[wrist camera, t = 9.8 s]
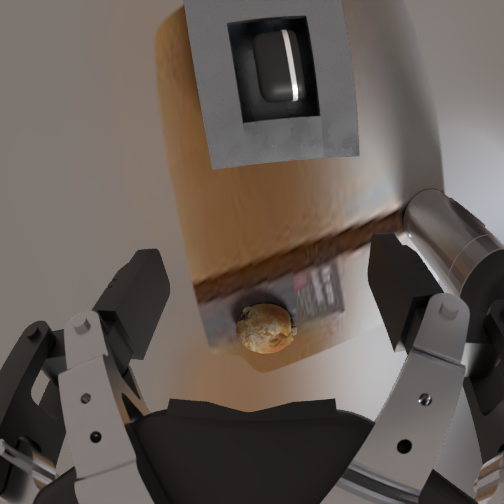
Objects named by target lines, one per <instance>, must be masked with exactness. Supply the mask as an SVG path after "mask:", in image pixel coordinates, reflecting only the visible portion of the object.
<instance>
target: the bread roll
mask: <svg viewBox="0 0 504 504" xmlns="http://www.w3.org/2000/svg"><path fill="white" fill-rule="evenodd" d="M243 312H244V313H243V314H242V315H241V317H240V319H239V321H238V323H237V327H236V333H237V336H238V338H239V340H240V341H241V343H242V344H243V345H244V346H245V347H247V348H249V349H250V350H251V351H256V352H258V353H273V352H277V351H280V350H282V349H283V348H284V347H286V346H287V345H289V344H290V343H291V342H292V340H293V339H294V337H293V335H295V334H296V333H297V326H292V324H293V319H291V318H290V314H289V313H288V312H287V311H286V310H284V309H283V308H281V307H280V306H278V305H273V304H257V305H254V306H252V307H249V306H248V307H246V308H244V310H243Z"/></svg>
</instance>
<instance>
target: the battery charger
mask: <svg viewBox="0 0 504 504" xmlns="http://www.w3.org/2000/svg"><path fill="white" fill-rule="evenodd" d="M252 48H253V56H254V61H255V67H256V72H257V78H258V84H259V90H260V93H261V96H262V97H263V99H264V100H266V101H268V102H282V101H297V100H301V99H303V98H304V96H305V84H304V77H303V70H302V64H301V58H300V53H299V47H298V42H297V38H296V35H295V33H294V32H293V31H292V30H281V31H275V32H266V33H261V34H258V35H257V36H256V37H255V38H254V39H253V43H252Z"/></svg>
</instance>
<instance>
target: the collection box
mask: <svg viewBox="0 0 504 504" xmlns="http://www.w3.org/2000/svg"><path fill="white" fill-rule="evenodd" d="M184 7H185V14H186V20H187V27H188V33H189V40H190V46H191V52H192V58H193V64H194V70H195V76H196V82H197V88H198V94H199V100H200V105H201V111H202V116H203V122H204V127H205V133H206V138H207V144H208V149H209V154H210V159H211V165H212V170H215V169H222V168H229V167H236V166H244V165H252V164H260V163H269V162H279V161H289V160H301V159H314V158H330V157H350V156H359V134H358V118H357V104H356V93H355V84H354V75H353V67H352V59H351V52H350V45H349V39H348V33H347V28H346V22H345V17H344V12H343V7H342V3H341V0H184ZM281 30H292V31H293V32H294V33H295V35H296V38H297V42H298V47H299V53H300V58H301V64H302V70H303V77H304V84H305V96H304V98H303V99H301V100H297V101H282V102H268V101H266V100H264V99H263V97H262V96H261V93H260V90H259V84H258V78H257V72H256V67H255V61H254V56H253V48H252V43H253V39H254V38H255V37H256V36H257V35H258V34H261V33H266V32H275V31H281Z"/></svg>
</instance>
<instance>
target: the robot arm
mask: <svg viewBox="0 0 504 504" xmlns="http://www.w3.org/2000/svg"><path fill="white" fill-rule="evenodd" d="M403 226H404V230H405V232H406V234H407V236H408V237H409V238H410V239H411V241H412V242H413V243H414V245H415V246H416V247H417V249H418V250H419V251H420V253H421V254H422V255H423V257H424V258H425V259H426V261H427V262H428V263H429V265H430V266H431V267H432V269H433V270H434V271H435V273H436V274H437V276H438V277H439V278H440V280H441V281H442V283H443V284H444V286H445V287H446V289H447V290H448V291H449V293H450V294H448V293H444V292H443V290H442V288H441V287H440V285H439V284H438V282H437V281H436V279H435V278H434V276H433V275H432V273H431V272H430V270H428V268H427V266H426V265H425V263H423V260H422V259H421V258H420V256H419V255H418V254H417V252H415V251H414V250H413V249H411V248H410V247H408V246H407V245H402V244H401V243H400V241H399V240H398V238H397V237H396V236H395V234H394V233H378V234H373V236H372V240H371V248H370V257H369V265H368V282H369V286H370V288H371V291H372V293H373V296H374V298H375V301H376V303H377V306H378V308H379V311H380V314H381V316H382V319H383V322H384V324H385V327H386V329H387V332H388V335H389V338H390V341H391V344H392V347H393V350H394V352H398V351H404V350H406V352H407V355H408V356H407V358H406V360H405V363H404V365H403V367H402V369H401V372H400V374H399V376H398V378H397V380H396V382H395V384H394V386H393V388H392V390H391V392H390V394H389V396H388V398H387V400H386V402H385V404H384V405H383V408H382V409H381V411H380V413H379V414H378V416H377V418H376V420H375V421H374V422H373V421H371V420H370V419H368V418H366V417H364V416H362V415H359V414H356V413H353V412H349V411H344V410H337V409H336V402H335V399H327V400H315V401H301V402H292V403H288V404H284V405H280V406H276V407H272V408H268V409H264V410H259V411H255V412H243V411H239V410H235V409H231V408H227V407H224V406H220V405H217V404H213V403H210V402H204V401H190V400H179V399H170V401H169V405H168V409H165V410H161V411H156V412H153V413H151V412H150V410H149V409H148V407H147V405H146V403H145V401H144V398H143V396H142V394H141V391H140V389H139V387H138V384H137V382H136V379H135V376H134V374H133V372H132V369H131V367H130V366H129V362H130V360H131V359H138V360H143V359H144V356H145V354H146V351H147V349H148V346H149V344H150V341H151V339H152V336H153V333H154V331H155V329H156V326H157V324H158V321H159V319H160V316H161V314H162V312H163V309H164V307H165V305H166V302H167V300H168V298H169V295H170V283H169V279H168V276H167V274H166V270H165V268H164V265H163V261H162V258H161V255H160V253H159V251H158V250H157V249H144V250H138V251H137V252H136V253H135V255H134V256H133V257H132V259H131V260H130V262H129V263H127V264H126V265H125V266H124V267H122V268H121V269H120V270H119V271H118V272H117V273H116V275H115V276H114V278H113V280H112V281H111V282H110V283H109V285H108V288H106V289H105V291H104V292H103V294H102V295H101V297H100V298H99V300H98V301H97V303H96V304H95V306H94V307H93V309H92V310H91V311H83V312H80V313H78V314H76V315H75V316H73V317H72V318H71V319H70V320H69V321H68V323H67V324H66V326H65V329H62V330H57V331H52V330H51V329H50V327H49V326H48V325H47V323H46V322H45V321H37V322H34V323H32V324H31V325H29V326H28V327H27V328H26V329H25V330H24V332H23V333H22V335H21V337H20V338H19V340H18V341H17V343H16V344H15V346H14V348H13V349H12V351H11V353H10V355H9V356H8V358H7V360H6V361H5V363H4V365H3V367H2V369H1V370H0V499H2V500H4V501H6V502H8V503H9V504H504V244H503V243H502V242H501V241H500V240H498V239H497V238H496V237H495V236H494V235H493V234H492V233H491V232H490V231H489V230H487V229H486V228H485V225H484V224H483V223H482V222H481V221H480V220H479V219H478V218H476V217H475V216H474V215H473V214H472V213H470V212H469V211H468V210H467V209H465V208H464V207H463V206H462V205H460V204H459V203H458V202H456V201H455V200H453V199H452V198H449V197H447V196H446V195H445V194H443V193H442V192H440V191H439V190H435V189H428V190H424V191H422V192H420V193H418V194H417V195H416V196H415V197H413V199H412V200H411V201H410V202H409V204H408V206H407V208H406V210H405V213H404V218H403ZM40 370H42V371H43V372H44V374H45V375H46V376H47V377H48V378H49V379H50V381H49V383H48V385H47V387H46V390H45V392H44V394H43V397H42V399H41V401H40V404H39V406H38V405H37V404H36V403H35V402H34V401H33V399H32V397H31V388H32V386H33V384H34V382H35V379H36V377H37V376H38V374H39V372H40ZM462 385H463V388H464V391H465V393H466V397H467V400H468V404H469V407H470V410H471V414H472V418H473V421H474V425H475V429H476V433H477V438H478V442H479V446H480V451H481V457H482V462H483V467H482V468H481V470H480V472H479V476H478V479H477V480H476V481H475V483H474V491H475V493H476V495H475V498H474V499H473V498H471V497H470V496H468V495H467V494H466V493H464V492H463V491H462V490H460V489H459V488H458V487H456V486H455V485H453V484H452V483H451V482H449V481H448V480H447V479H445V478H444V477H443V476H442V475H440V474H439V473H438V472H436V471H435V470H434V469H432V468H433V466H434V464H435V462H436V460H437V457H438V455H439V453H440V450H441V448H442V445H443V443H444V440H445V438H446V435H447V432H448V430H449V427H450V424H451V421H452V418H453V415H454V412H455V409H456V406H457V402H458V399H459V395H460V392H461V388H462ZM66 432H67V437H68V441H69V446H70V450H71V454H72V458H73V461H74V465H75V466H74V467H72V468H71V469H70V470H68V471H67V472H65V473H64V474H62V475H61V476H60V475H58V474H57V473H56V472H55V468H56V464H57V460H58V457H59V453H60V450H61V447H62V444H63V441H64V438H65V435H66Z"/></svg>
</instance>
